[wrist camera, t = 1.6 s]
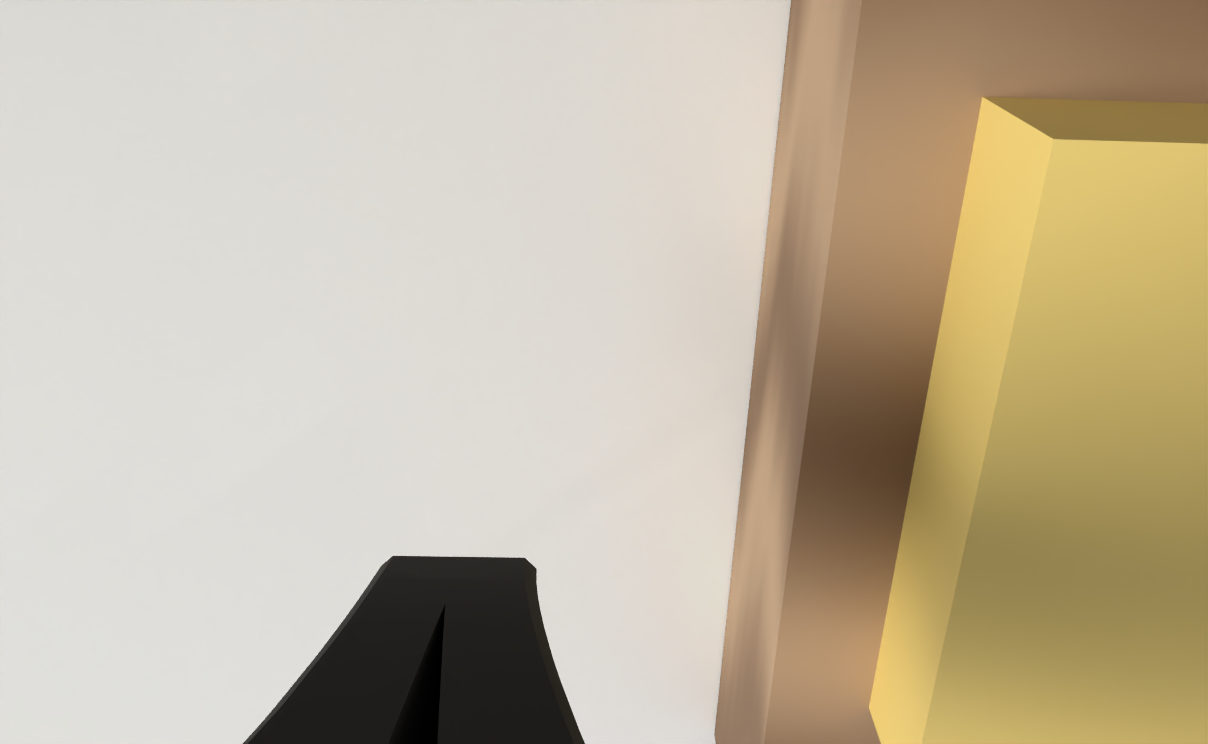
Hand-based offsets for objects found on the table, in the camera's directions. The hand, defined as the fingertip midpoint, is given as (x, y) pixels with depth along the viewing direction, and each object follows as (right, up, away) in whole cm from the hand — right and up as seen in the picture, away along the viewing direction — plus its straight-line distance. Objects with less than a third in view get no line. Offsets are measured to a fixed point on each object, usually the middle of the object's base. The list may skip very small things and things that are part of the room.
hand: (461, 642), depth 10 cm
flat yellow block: (+8, +1, +4) cm, 9 cm away
